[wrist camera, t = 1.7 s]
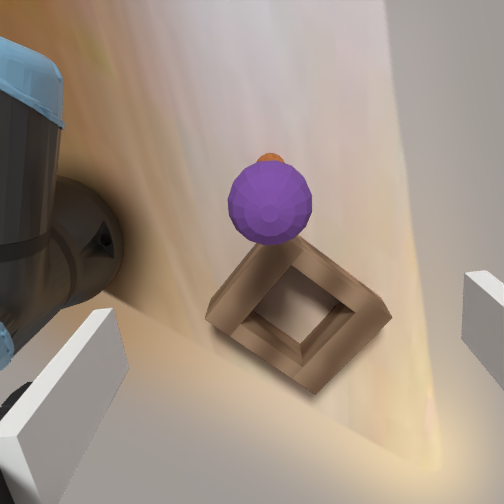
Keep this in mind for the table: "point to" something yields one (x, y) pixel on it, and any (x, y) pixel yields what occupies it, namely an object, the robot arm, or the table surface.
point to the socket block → (322, 337)
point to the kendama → (270, 201)
